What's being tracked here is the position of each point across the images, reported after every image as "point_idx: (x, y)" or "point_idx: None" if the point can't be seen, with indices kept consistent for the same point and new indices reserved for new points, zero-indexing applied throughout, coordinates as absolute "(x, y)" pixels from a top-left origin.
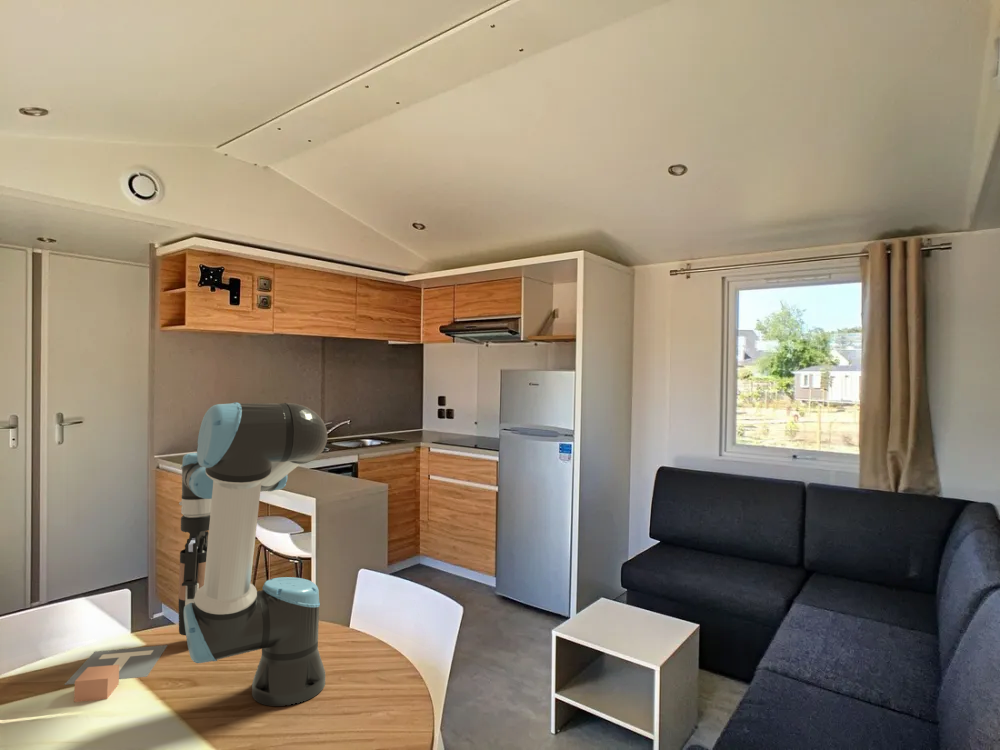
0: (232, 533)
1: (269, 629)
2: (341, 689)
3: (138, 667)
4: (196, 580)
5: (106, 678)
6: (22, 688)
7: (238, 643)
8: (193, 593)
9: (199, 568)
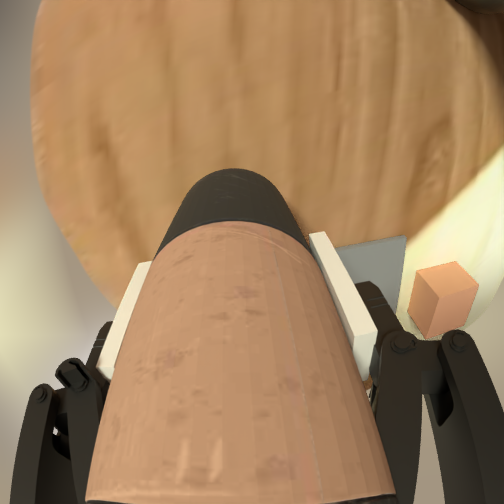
0: None
1: None
2: None
3: (360, 275)
4: (413, 356)
5: (478, 286)
6: (367, 382)
7: None
8: (386, 301)
9: (381, 446)
